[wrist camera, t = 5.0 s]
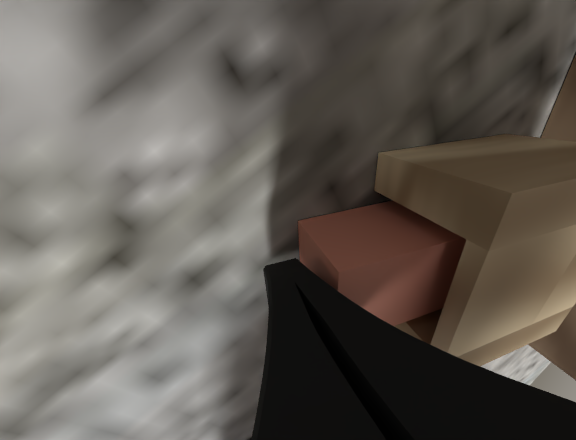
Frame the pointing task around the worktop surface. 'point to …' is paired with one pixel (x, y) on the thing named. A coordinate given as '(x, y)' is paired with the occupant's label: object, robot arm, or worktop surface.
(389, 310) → the brick
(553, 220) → the block
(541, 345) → the wall
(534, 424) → the robot arm
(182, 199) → the worktop surface
